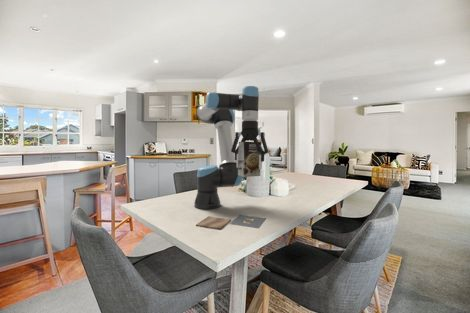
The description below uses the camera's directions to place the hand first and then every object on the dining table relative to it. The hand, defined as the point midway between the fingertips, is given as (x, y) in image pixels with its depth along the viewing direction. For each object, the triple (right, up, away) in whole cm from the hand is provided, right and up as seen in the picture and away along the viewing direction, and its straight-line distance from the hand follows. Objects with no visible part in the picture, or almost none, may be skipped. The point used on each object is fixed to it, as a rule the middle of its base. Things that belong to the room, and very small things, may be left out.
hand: (249, 167), depth 110 cm
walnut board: (-17, -26, -1) cm, 31 cm away
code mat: (0, -26, +2) cm, 26 cm away
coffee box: (0, -4, 0) cm, 4 cm away
